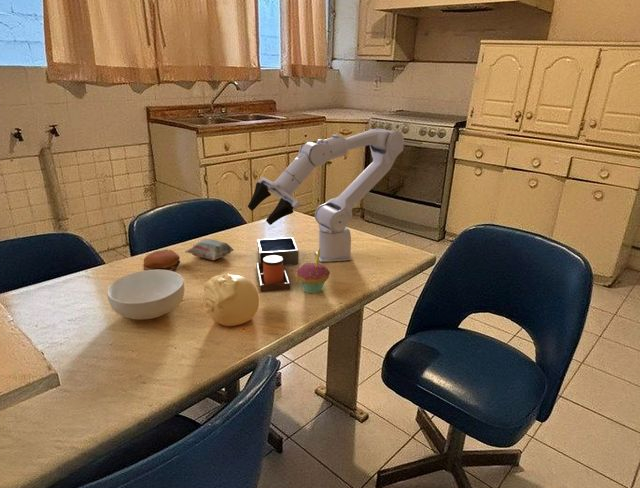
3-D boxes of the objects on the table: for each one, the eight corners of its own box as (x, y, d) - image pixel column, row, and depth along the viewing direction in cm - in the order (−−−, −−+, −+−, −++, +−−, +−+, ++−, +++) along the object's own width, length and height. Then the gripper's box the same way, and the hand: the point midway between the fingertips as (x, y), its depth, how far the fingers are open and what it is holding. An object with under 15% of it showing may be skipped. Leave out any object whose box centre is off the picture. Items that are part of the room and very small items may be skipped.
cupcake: (334, 286, 120) (335, 243, 116) (320, 299, 113) (320, 255, 108) (305, 280, 123) (305, 238, 119) (290, 292, 116) (289, 249, 112)
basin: (293, 250, 143) (292, 237, 141) (298, 264, 133) (298, 250, 131) (258, 253, 141) (257, 239, 139) (260, 267, 131) (260, 252, 129)
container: (282, 278, 123) (281, 254, 121) (284, 286, 119) (284, 262, 116) (263, 279, 122) (262, 255, 120) (264, 288, 118) (263, 263, 115)
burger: (141, 276, 124) (138, 260, 122) (148, 263, 133) (146, 248, 131) (178, 274, 126) (176, 259, 124) (183, 261, 134) (181, 246, 132)
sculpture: (199, 314, 106) (195, 271, 102) (248, 302, 111) (246, 261, 107) (215, 337, 97) (211, 292, 92) (267, 323, 102) (265, 280, 98)
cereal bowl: (111, 301, 111) (106, 275, 108) (182, 290, 117) (179, 265, 114) (111, 337, 96) (105, 307, 94) (191, 321, 102) (188, 293, 100)
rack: (282, 267, 131) (282, 261, 130) (289, 289, 118) (289, 283, 117) (256, 269, 130) (256, 263, 129) (260, 292, 116) (260, 285, 116)
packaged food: (214, 266, 131) (213, 250, 129) (185, 257, 137) (183, 242, 135) (234, 256, 138) (234, 241, 136) (206, 249, 144) (204, 234, 142)
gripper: (268, 158, 123) (235, 195, 121) (305, 183, 116) (270, 223, 114) (278, 172, 129) (246, 207, 127) (314, 196, 122) (281, 234, 121)
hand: (258, 215), depth 121 cm, fingers open, 7 cm apart
